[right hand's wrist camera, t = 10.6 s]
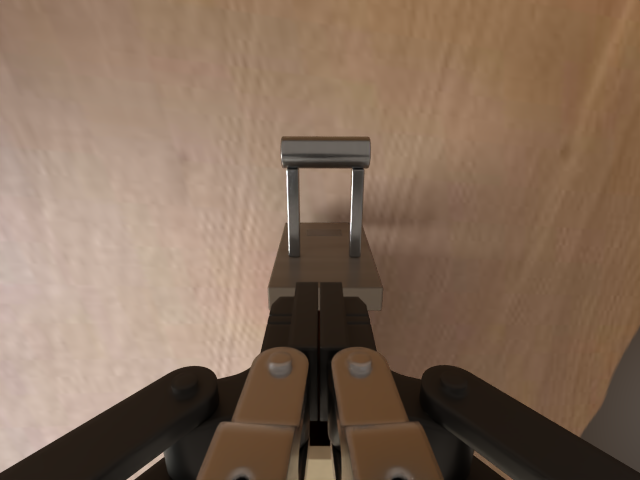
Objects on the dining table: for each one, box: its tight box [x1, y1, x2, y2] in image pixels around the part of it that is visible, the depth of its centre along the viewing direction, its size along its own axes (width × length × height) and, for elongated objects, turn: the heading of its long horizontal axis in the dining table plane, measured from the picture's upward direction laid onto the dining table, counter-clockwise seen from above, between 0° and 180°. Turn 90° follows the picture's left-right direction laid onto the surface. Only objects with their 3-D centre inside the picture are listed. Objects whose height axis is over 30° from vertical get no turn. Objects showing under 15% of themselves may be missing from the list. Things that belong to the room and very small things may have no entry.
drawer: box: [268, 136, 383, 446], centre depth 23 cm, size 25×5×9 cm, turn 0°
